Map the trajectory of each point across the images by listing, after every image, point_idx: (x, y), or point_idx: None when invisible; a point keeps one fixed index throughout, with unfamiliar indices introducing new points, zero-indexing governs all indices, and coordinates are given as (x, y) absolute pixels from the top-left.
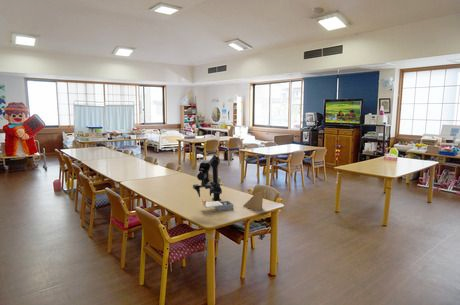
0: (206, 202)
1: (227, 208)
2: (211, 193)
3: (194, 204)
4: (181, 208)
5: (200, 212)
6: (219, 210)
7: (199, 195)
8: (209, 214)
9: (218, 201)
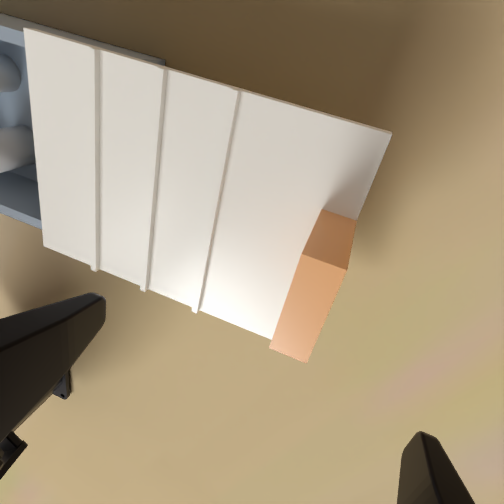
0: (214, 309)
1: (23, 22)
2: (13, 318)
3: (276, 427)
4: (489, 462)
5: (425, 200)
6: (150, 56)
7: (461, 500)
8: (384, 10)
9: (44, 220)
